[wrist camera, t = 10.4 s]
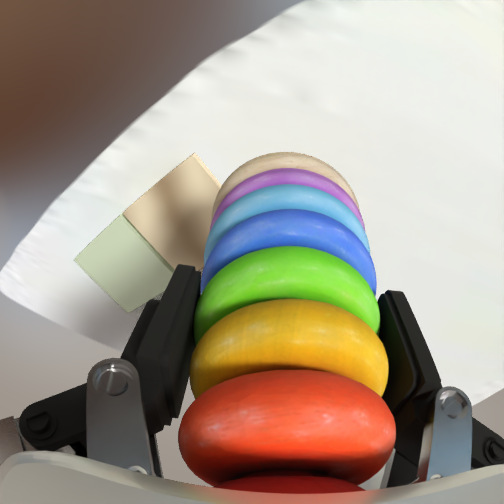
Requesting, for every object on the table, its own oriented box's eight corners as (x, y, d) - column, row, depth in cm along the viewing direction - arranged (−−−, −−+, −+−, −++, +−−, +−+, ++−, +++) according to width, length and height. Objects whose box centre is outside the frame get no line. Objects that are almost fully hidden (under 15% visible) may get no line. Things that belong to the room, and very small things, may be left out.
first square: (194, 152, 24) (192, 154, 23) (257, 230, 27) (257, 234, 26) (126, 209, 27) (122, 213, 26) (185, 274, 30) (184, 279, 29)
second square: (122, 212, 27) (119, 216, 26) (182, 276, 30) (180, 281, 30) (77, 255, 30) (73, 259, 29) (130, 308, 33) (128, 313, 33)
